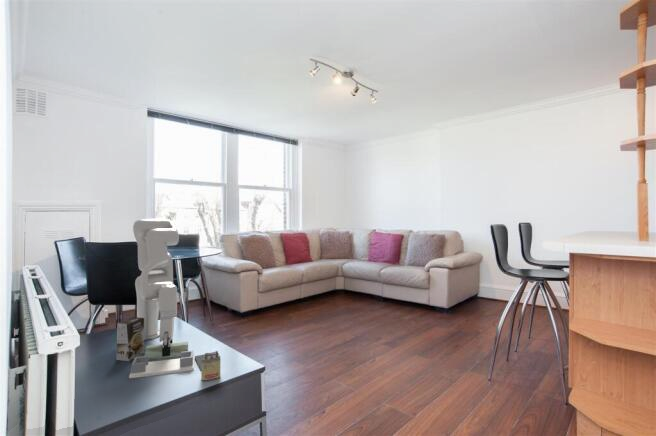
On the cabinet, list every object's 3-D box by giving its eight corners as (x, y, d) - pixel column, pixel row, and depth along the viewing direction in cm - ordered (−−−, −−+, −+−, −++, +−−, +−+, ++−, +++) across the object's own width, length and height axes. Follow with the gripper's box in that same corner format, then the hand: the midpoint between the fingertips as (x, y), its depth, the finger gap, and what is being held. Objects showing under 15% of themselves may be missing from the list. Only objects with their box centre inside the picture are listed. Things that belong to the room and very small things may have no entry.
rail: (146, 357, 150) (146, 346, 150) (188, 352, 156) (188, 341, 156) (145, 360, 146) (145, 349, 146) (187, 355, 152) (187, 344, 152)
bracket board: (134, 366, 141) (134, 355, 140) (194, 358, 148) (194, 348, 148) (129, 378, 130) (129, 366, 130) (193, 370, 138) (193, 359, 138)
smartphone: (200, 370, 137) (194, 356, 150) (200, 372, 137) (194, 358, 150) (218, 366, 140) (210, 353, 153) (218, 368, 140) (210, 355, 153)
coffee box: (128, 361, 145) (129, 323, 144) (116, 360, 146) (116, 322, 146) (144, 353, 154) (144, 317, 153) (132, 351, 155) (132, 316, 155)
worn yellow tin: (201, 382, 128) (202, 356, 128) (200, 377, 132) (200, 352, 131) (221, 378, 132) (221, 352, 132) (219, 374, 135) (219, 349, 135)
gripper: (160, 308, 157) (160, 345, 158) (155, 319, 141) (155, 360, 141) (178, 307, 160) (178, 343, 160) (175, 317, 144) (175, 358, 144)
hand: (167, 351), depth 151 cm, fingers open, 9 cm apart
